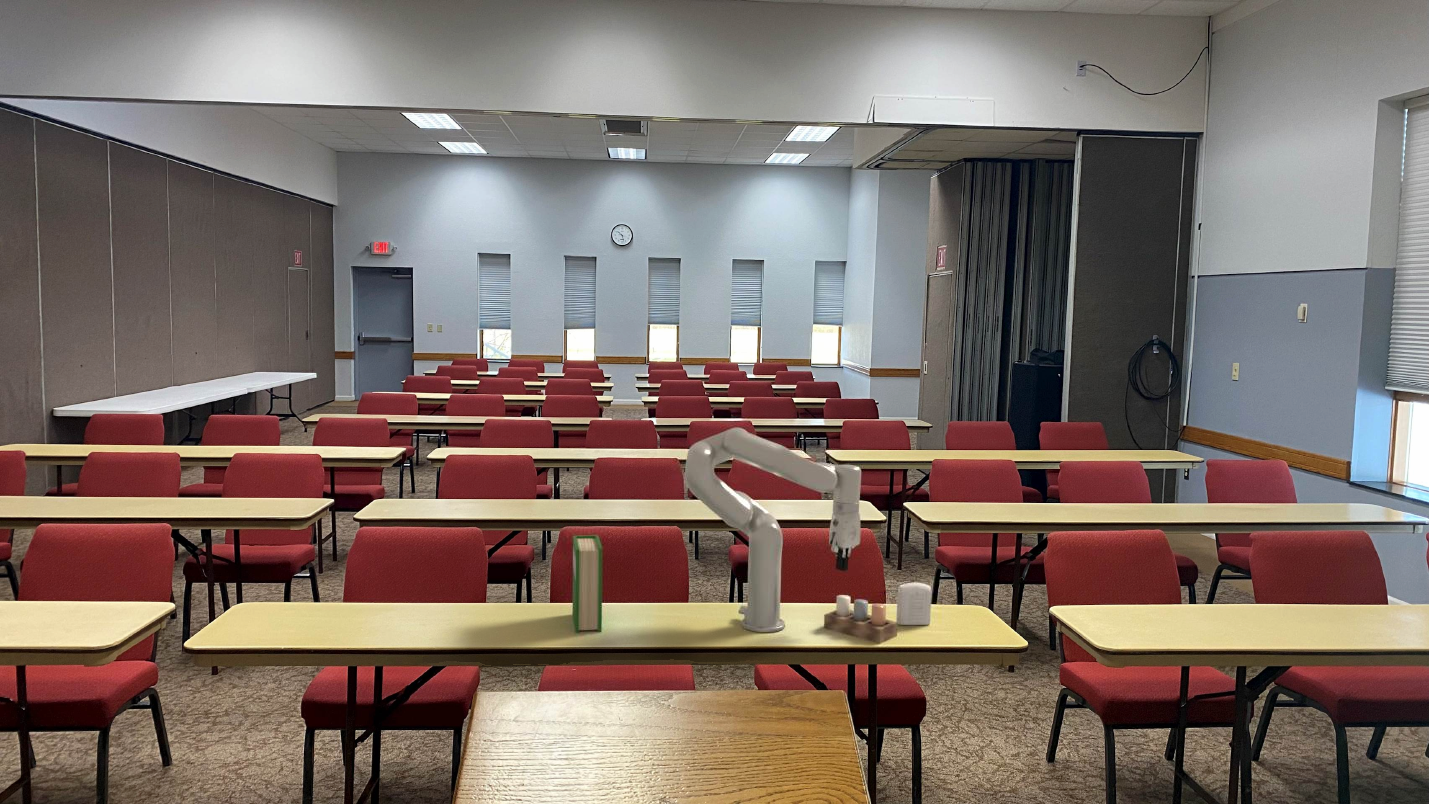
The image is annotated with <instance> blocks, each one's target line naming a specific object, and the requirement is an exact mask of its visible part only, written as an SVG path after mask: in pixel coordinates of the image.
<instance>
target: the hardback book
mask: <svg viewBox="0 0 1429 804" xmlns="http://www.w3.org/2000/svg"><path fill="white" fill-rule="evenodd" d="M572 541H573V542H572V612H571V613H572V619H573V620H572V621H573V628H574V633H575V634H579V633H580V631H589V630H590V631H591V630H592V631H594V630H597V633H602V631H603V627H602V626H603V625H602V624H603V622H602V621H603V555H604V553H603V549H604V548H603V546H602V542H601V540H600V536H599V535H598V534H597V535H596V534H593V535H592V534H590V535H588V534H587V535H573V536H572Z"/></svg>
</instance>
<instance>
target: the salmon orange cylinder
mask: <svg viewBox="0 0 1429 804" xmlns="http://www.w3.org/2000/svg"><path fill="white" fill-rule="evenodd" d="M870 615H871V624H872V625H875V626H879V627H883V626H885V625H886V620H887V619H886V617H887V605H886V604H883V603H872V604H871V614H870Z"/></svg>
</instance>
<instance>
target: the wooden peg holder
mask: <svg viewBox="0 0 1429 804" xmlns="http://www.w3.org/2000/svg"><path fill="white" fill-rule="evenodd" d="M871 615H872V614H868V619H867V621H865V622H860V621H857V620H853V617H854V610H851V609H850V616H848V617H842V616H838V615H836V609H835V610H833V611H830V612H827V613H825V614H824V616H823V628H824V629H827V630H830V631H833V632H838V633H842V634H843V635H848V636H852V637H855V636H856V637H855V638H859V639H862V640H865V641H866V640H867V641H870V642H873V643H876V642H877V643H876V644H883V643H885V642H887V641H889V640H891V639H894V638H896V637H898V624H897V622H896V621H893V620H889V619H886V625H885V626H883V627H879V626H875V625H872V624H871Z"/></svg>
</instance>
